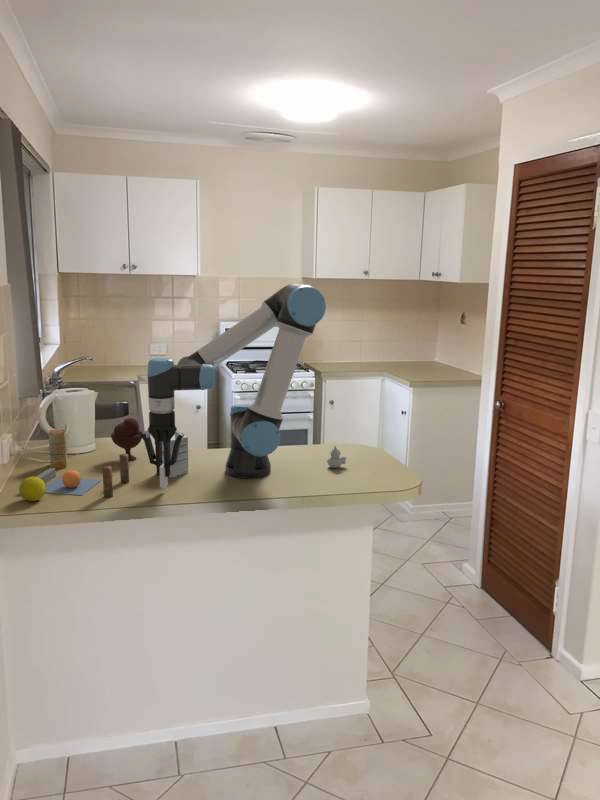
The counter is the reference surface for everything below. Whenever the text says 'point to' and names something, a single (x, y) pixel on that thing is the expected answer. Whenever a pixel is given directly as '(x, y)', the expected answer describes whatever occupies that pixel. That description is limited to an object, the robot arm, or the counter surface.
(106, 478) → the left post
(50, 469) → the blue-grey rod
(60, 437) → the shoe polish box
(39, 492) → the tennis ball
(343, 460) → the grey figurine
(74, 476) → the ball
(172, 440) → the supplement box
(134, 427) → the ice cream bowl
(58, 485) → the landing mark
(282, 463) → the counter surface
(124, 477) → the right post
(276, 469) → the counter surface
